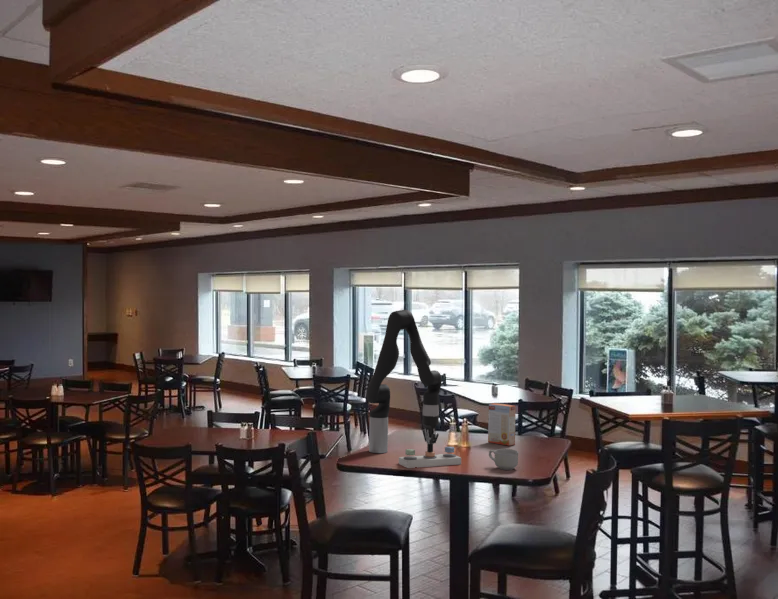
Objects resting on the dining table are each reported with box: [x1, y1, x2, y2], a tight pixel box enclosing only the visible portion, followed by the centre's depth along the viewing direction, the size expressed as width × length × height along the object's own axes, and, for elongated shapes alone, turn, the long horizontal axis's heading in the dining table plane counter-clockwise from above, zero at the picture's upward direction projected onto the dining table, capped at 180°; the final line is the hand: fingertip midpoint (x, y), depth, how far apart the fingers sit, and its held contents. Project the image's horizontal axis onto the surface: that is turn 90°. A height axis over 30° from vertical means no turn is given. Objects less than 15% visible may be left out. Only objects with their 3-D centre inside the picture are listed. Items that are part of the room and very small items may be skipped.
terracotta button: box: [424, 450, 436, 457], centre depth 344 cm, size 4×4×2 cm
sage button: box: [404, 448, 416, 456], centre depth 340 cm, size 4×4×2 cm
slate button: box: [444, 446, 455, 454], centre depth 348 cm, size 4×4×2 cm
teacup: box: [488, 448, 519, 471], centre depth 338 cm, size 14×11×8 cm
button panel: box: [398, 453, 462, 469], centre depth 344 cm, size 10×27×4 cm, turn 112°
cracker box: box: [487, 402, 517, 447], centre depth 399 cm, size 14×6×21 cm, turn 44°
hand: (430, 452), depth 344 cm, fingers closed
